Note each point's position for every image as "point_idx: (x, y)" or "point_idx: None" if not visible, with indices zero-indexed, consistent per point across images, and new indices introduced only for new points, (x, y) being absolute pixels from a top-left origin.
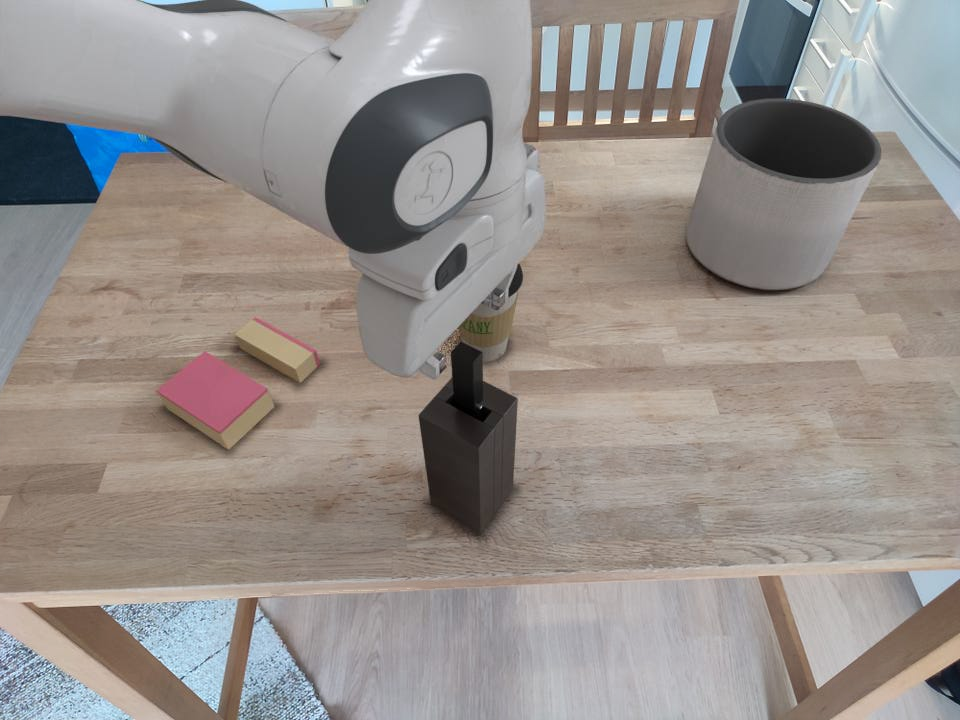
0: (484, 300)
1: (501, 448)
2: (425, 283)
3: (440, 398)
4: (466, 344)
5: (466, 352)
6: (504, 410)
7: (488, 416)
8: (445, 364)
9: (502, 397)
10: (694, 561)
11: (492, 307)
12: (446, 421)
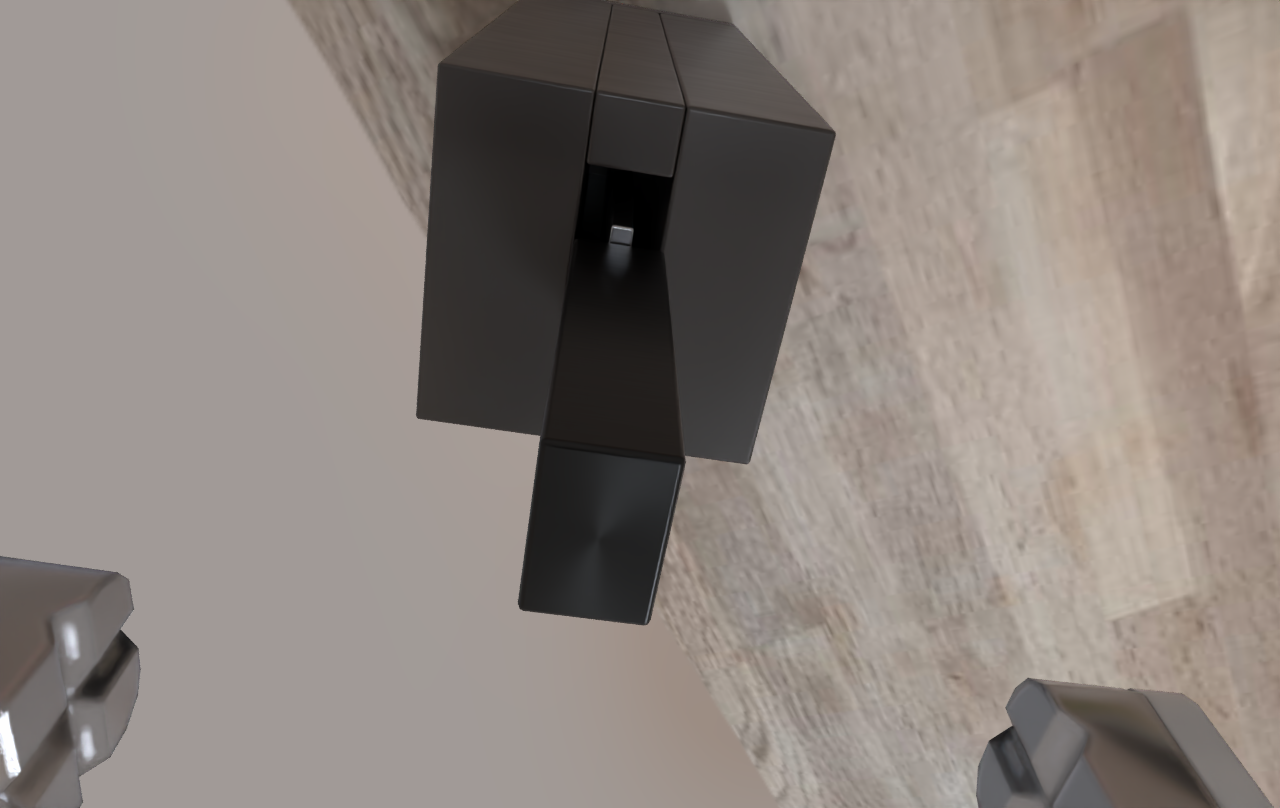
0: (1049, 715)
1: None
2: None
3: (594, 129)
4: (670, 510)
5: (594, 538)
6: None
7: None
8: (89, 767)
9: (725, 407)
10: (679, 643)
11: (1003, 737)
12: (474, 226)
